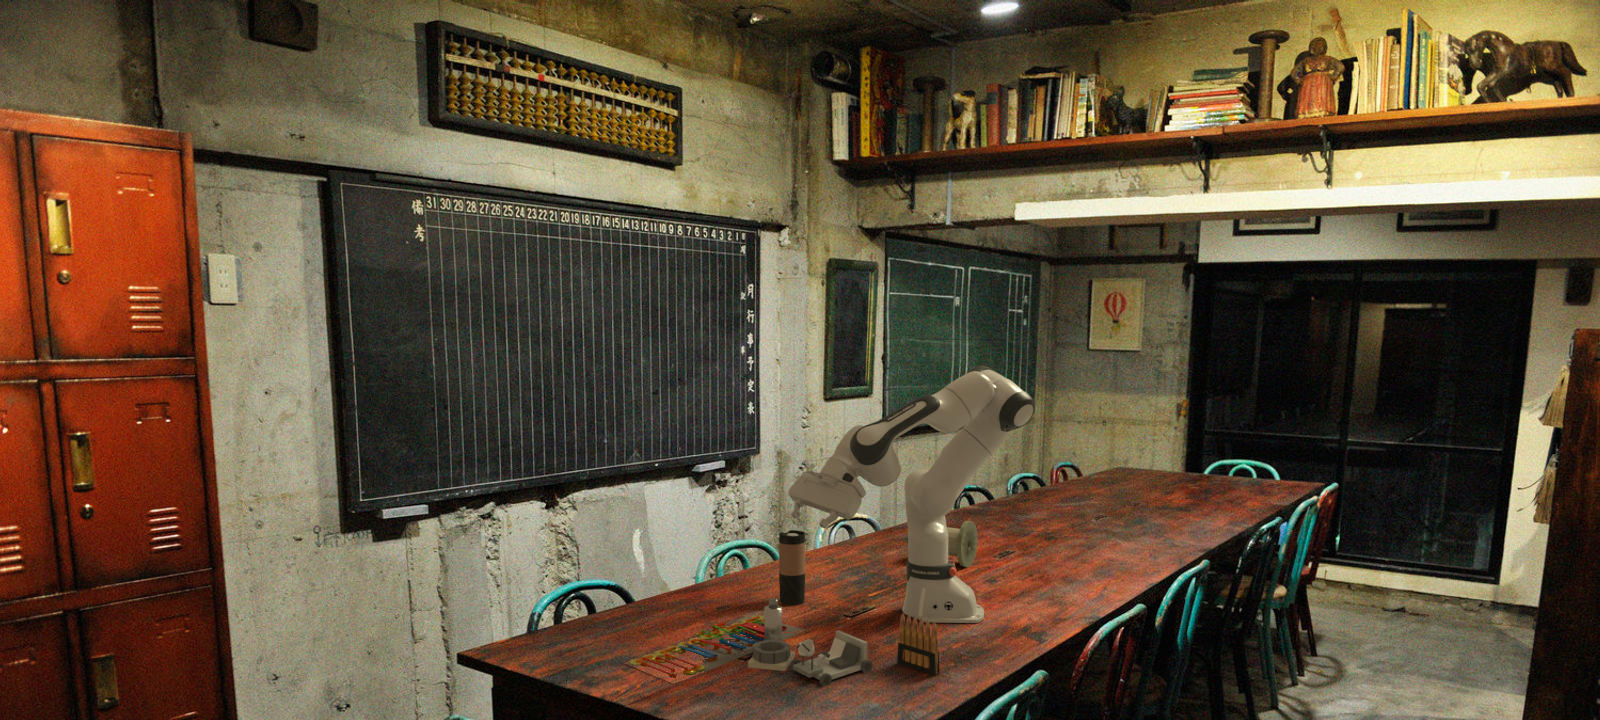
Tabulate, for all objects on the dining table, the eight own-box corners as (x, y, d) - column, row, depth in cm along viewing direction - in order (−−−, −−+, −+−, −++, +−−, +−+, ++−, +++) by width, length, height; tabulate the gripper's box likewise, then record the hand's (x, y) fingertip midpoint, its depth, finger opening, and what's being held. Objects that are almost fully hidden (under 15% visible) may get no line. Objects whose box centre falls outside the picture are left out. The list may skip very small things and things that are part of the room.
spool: (977, 561, 288) (977, 517, 288) (961, 571, 275) (961, 526, 275) (932, 554, 297) (932, 512, 297) (914, 564, 284) (914, 520, 284)
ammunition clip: (896, 663, 198) (897, 613, 198) (901, 661, 199) (901, 611, 199) (935, 676, 191) (935, 623, 190) (939, 673, 192) (940, 621, 192)
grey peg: (784, 645, 210) (784, 597, 209) (779, 651, 205) (779, 602, 205) (767, 643, 211) (767, 596, 210) (762, 650, 206) (762, 601, 206)
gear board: (752, 607, 233) (805, 623, 220) (752, 616, 233) (805, 633, 220) (620, 654, 198) (674, 676, 186) (620, 664, 198) (674, 687, 186)
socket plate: (794, 656, 202) (794, 641, 202) (785, 671, 193) (785, 655, 193) (758, 653, 204) (758, 638, 204) (747, 667, 195) (747, 651, 195)
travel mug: (802, 606, 239) (802, 536, 239) (776, 605, 241) (776, 535, 240) (807, 598, 247) (807, 530, 246) (782, 596, 248) (782, 529, 248)
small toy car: (812, 647, 183) (780, 633, 192) (812, 692, 183) (780, 675, 192) (872, 629, 194) (839, 616, 203) (872, 672, 194) (839, 657, 203)
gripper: (801, 462, 223) (772, 504, 217) (862, 480, 209) (833, 525, 203) (810, 476, 227) (783, 517, 221) (871, 495, 213) (843, 539, 207)
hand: (808, 521), depth 212 cm, fingers open, 8 cm apart
